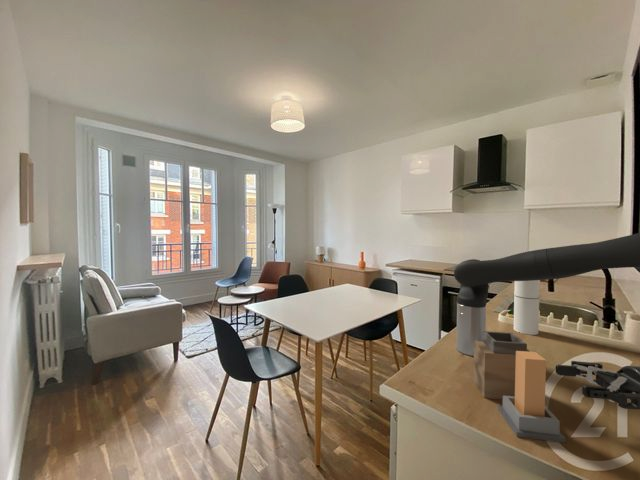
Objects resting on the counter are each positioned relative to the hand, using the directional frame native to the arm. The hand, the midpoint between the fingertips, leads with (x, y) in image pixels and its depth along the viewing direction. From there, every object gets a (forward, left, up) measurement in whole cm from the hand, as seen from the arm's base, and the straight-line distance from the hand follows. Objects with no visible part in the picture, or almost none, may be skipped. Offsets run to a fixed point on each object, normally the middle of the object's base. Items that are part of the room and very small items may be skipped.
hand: (569, 379), depth 60 cm
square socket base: (-13, -8, -11) cm, 19 cm away
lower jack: (0, -8, -11) cm, 14 cm away
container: (-63, +22, -11) cm, 68 cm away
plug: (0, -8, -10) cm, 13 cm away
